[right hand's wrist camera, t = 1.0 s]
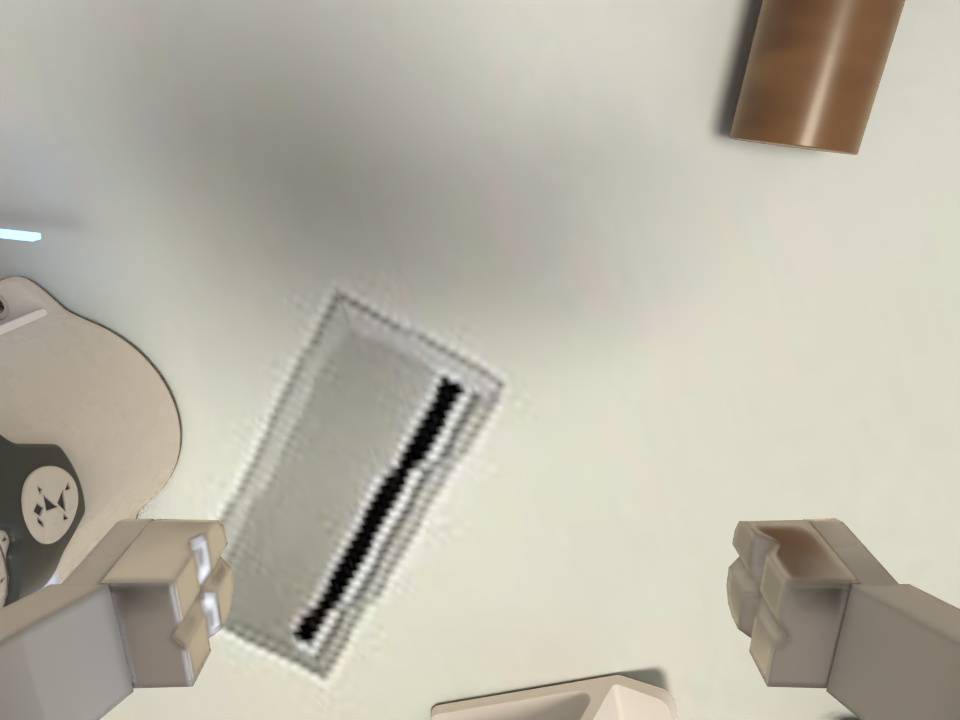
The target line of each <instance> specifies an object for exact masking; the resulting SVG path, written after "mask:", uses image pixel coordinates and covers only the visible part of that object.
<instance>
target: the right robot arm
mask: <svg viewBox="0 0 960 720" xmlns="http://www.w3.org/2000/svg"><path fill="white" fill-rule="evenodd" d="M0 238H6V239H15V240H25V241H36V240H39V239H41V234H40V233H34V232H25V231H16V230H7V229H0ZM0 301H1V302H2V303H3V305H4V309H2V308H1V307H0V720H100V719H101V718H102V717H103V716H104V715H106V714H107V713H108V712H109V711H110V710H112V709H113V708H114V707H115V706H116V705H118V704H119V703H120V702H121V701H122V700H124V699H125V698H126V697H127V696H128V695H130V694H131V693H132V692H133V688H157V687H192V686H193V685H194V683H195V681H196V679H197V677H198V675H199V673H200V671H201V669H202V667H203V665H204V663H205V661H206V660H207V658H208V656H209V654H210V652H211V650H210V644H209V638H210V637H211V636H212V635H214V634H215V633H217V632H218V631H220V630H221V629H222V628H223V626H224V623H225V621H226V619H227V617H228V615H229V611H230V606H231V602H232V597H233V576H232V569H231V567H230V566H229V565H228V564H227V563H226V561H225V560H224V559H223V558H222V557H221V554H222V552H223V550H224V549H225V547H226V545H227V539H226V534H225V529H224V525H223V524H222V523H221V522H220V521H219V520H179V519H156V520H155V519H136V517H137V514H138V512H139V510H140V509H141V508H142V507H143V506H144V505H145V504H146V503H147V502H148V501H149V500H150V499H152V498H153V497H154V496H155V495H156V494H157V493H158V492H159V491H160V490H161V489H162V488H163V487H164V485H165V484H166V483H167V481H168V480H169V478H170V476H171V475H172V473H173V471H174V468H175V466H176V463H177V460H178V456H179V450H180V438H181V437H180V424H179V419H178V414H177V411H176V407H175V404H174V402H173V399H172V397H171V395H170V392H169V391H168V389H167V387H166V385H165V383H164V382H163V380H162V378H161V377H160V376H159V374H158V373H157V371H156V370H155V369H154V368H153V366H152V365H151V364H150V363H149V362H148V361H147V360H146V358H145V357H144V356H143V355H141V354H140V353H139V352H138V351H137V350H136V349H135V348H134V347H133V346H131V345H130V344H129V343H127V342H126V341H125V340H123V339H122V338H121V337H119V336H117V335H116V334H114V333H113V332H111V331H109V330H107V329H105V328H103V327H101V326H99V325H97V324H95V323H93V322H90V321H88V320H86V319H83V318H81V317H79V316H77V315H75V314H73V313H71V312H69V311H67V310H66V309H64V308H63V307H62V306H61V305H60V304H59V303H58V302H56V301H55V300H54V299H53V298H52V297H51V296H50V295H49V294H48V293H46V292H45V291H44V290H43V289H42V288H40V287H39V286H38V285H36V284H35V283H34V282H32V281H30V280H28V279H26V278H23V277H18V276H16V277H9V278H7V279H4V280H1V281H0ZM733 545H734V547H735V549H736V550H737V552H738V554H739V557H738V558H737V559H736V560H735V561H734V563H733V564H732V565H731V566H730V567H729V570H728V578H727V595H728V604H729V607H730V611H731V614H732V617H733V619H734V621H735V623H736V626H737V628H738V629H739V630H740V631H742V632H743V633H745V634H746V635H748V636H749V637H750V638H751V644H750V650H749V652H750V654H751V656H752V658H753V660H754V661H755V663H756V665H757V667H758V669H759V671H760V673H761V675H762V677H763V679H764V681H765V683H766V685H767V687H802V688H827V690H826V691H827V692H828V693H829V694H831V695H832V696H833V697H834V698H835V699H837V700H838V701H839V702H840V703H841V704H843V705H844V706H845V707H846V708H847V709H849V710H850V711H851V712H852V713H853V714H855V715H856V716H857V717H858V718H859V719H861V720H960V609H958V608H956V607H954V606H952V605H950V604H948V603H946V602H944V601H942V600H940V599H938V598H936V597H934V596H932V595H930V594H928V593H926V592H924V591H922V590H920V589H918V588H916V587H914V586H912V585H910V584H898V583H897V582H896V580H895V579H894V578H893V577H892V576H891V575H890V574H889V573H888V572H887V570H886V569H885V568H884V567H883V566H882V565H881V564H880V563H879V562H878V560H877V559H876V558H875V557H874V556H873V555H872V554H871V553H870V552H869V550H868V549H867V548H866V547H865V546H864V545H863V544H862V543H861V542H860V540H859V539H858V538H857V537H856V536H855V535H854V534H853V533H852V532H851V530H850V529H849V528H848V527H847V526H846V525H845V524H844V523H843V522H842V521H840V520H837V519H835V518H833V519H804V520H780V521H739V522H738V524H737V527H736V529H735V532H734V538H733ZM63 581H64V582H63ZM62 582H63V583H62ZM61 583H62V584H61Z"/></svg>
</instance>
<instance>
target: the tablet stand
mask: <svg viewBox="0 0 960 720" xmlns="http://www.w3.org/2000/svg"><path fill="white" fill-rule="evenodd" d="M431 720H678V717H677V711H676V705H675V700H674V697H673V696H672V695H671V694H670V693H669V692H668V691H667V690H665V689H662V688H659V687H656V686H653V685H650V684H647V683H643V682H640V681H637V680H634V679H631V678H628V677H624V676H621V675H613V676H607V677H601V678H595V679H589V680H584V681H578V682H572V683H566V684H560V685H554V686H548V687H542V688H536V689H530V690H524V691H519V692H513V693H507V694H501V695H495V696H489V697H483V698H477V699H471V700H465V701H459V702H454V703H448V704H442V705H437V706H435V707H434V708H433V709H432V711H431Z"/></svg>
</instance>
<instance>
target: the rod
mask: <svg viewBox="0 0 960 720" xmlns="http://www.w3.org/2000/svg"><path fill="white" fill-rule="evenodd" d="M904 3H905V0H763V1H762V5H761V9H760V13H759V17H758V21H757V25H756V29H755V34H754V38H753V42H752V46H751V50H750V54H749V58H748V62H747V66H746V70H745V74H744V79H743V83H742V87H741V91H740V95H739V99H738V103H737V107H736V111H735V115H734V119H733V124H732V128H731V132H730V136H729V138H731V139H736V140H742V141H749V142H756V143H763V144H770V145H778V146H785V147H793V148H801V149H808V150H816V151H825V152H833V153H842V154H852V155H856V154H858V151H859V148H860V145H861V141H862V138H863V135H864V132H865V129H866V125H867V122H868V119H869V116H870V112H871V109H872V106H873V103H874V100H875V96H876V93H877V90H878V87H879V83H880V80H881V77H882V74H883V71H884V67H885V64H886V61H887V58H888V54H889V51H890V48H891V45H892V42H893V38H894V35H895V32H896V29H897V25H898V22H899V19H900V16H901V13H902V9H903V6H904Z"/></svg>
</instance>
